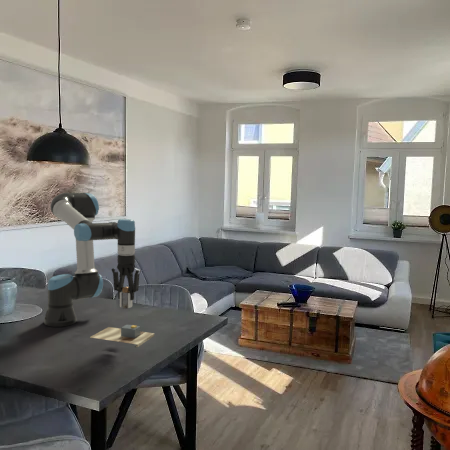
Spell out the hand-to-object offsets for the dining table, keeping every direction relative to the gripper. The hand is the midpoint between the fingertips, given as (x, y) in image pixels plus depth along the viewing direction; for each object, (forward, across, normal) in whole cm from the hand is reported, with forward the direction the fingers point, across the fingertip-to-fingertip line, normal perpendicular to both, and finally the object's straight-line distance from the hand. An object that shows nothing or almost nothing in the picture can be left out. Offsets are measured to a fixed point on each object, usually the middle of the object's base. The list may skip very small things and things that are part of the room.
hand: (126, 306), depth 205 cm
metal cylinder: (0, 0, 0) cm, 0 cm away
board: (+15, -3, +3) cm, 16 cm away
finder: (+14, 0, +4) cm, 15 cm away
